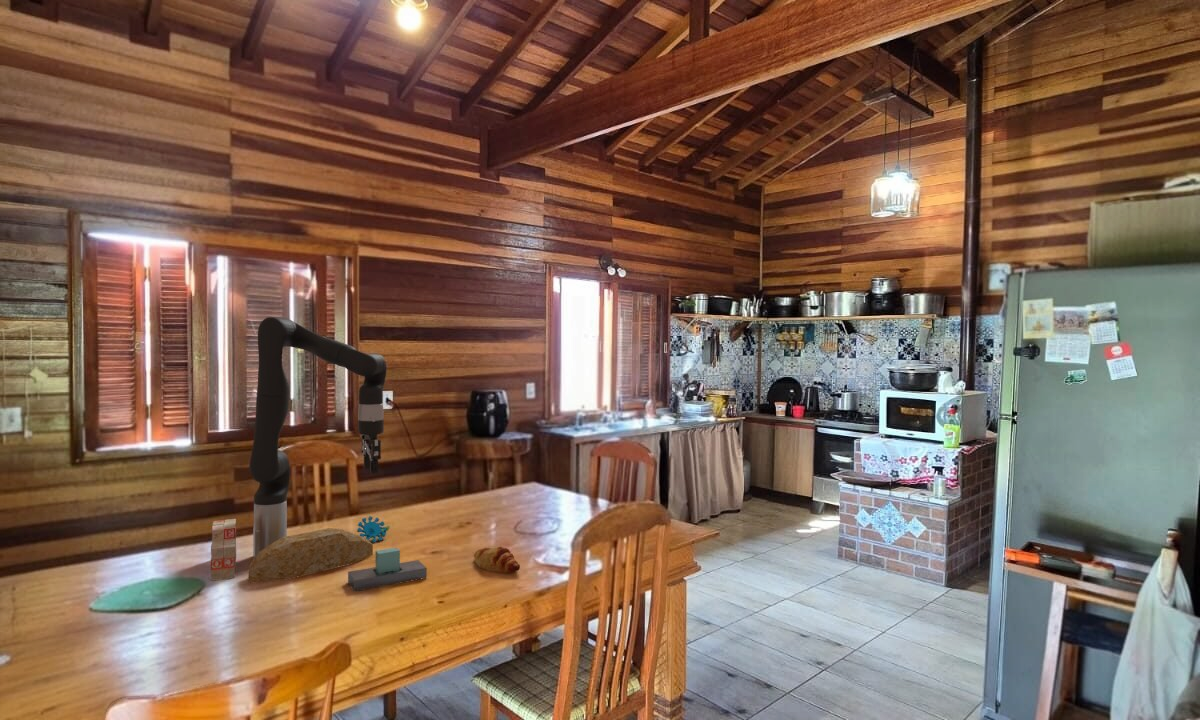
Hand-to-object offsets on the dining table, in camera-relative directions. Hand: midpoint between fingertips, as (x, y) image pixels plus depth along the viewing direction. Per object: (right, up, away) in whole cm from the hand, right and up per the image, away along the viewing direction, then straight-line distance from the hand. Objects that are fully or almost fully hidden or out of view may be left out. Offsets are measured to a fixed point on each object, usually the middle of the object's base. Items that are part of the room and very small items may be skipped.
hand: (370, 470), depth 207 cm
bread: (-15, -29, -5) cm, 33 cm away
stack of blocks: (-41, -28, -7) cm, 51 cm away
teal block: (+10, -28, -16) cm, 34 cm away
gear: (-7, -28, +22) cm, 36 cm away
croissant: (+40, -29, -4) cm, 49 cm away
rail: (+10, -29, -16) cm, 34 cm away
